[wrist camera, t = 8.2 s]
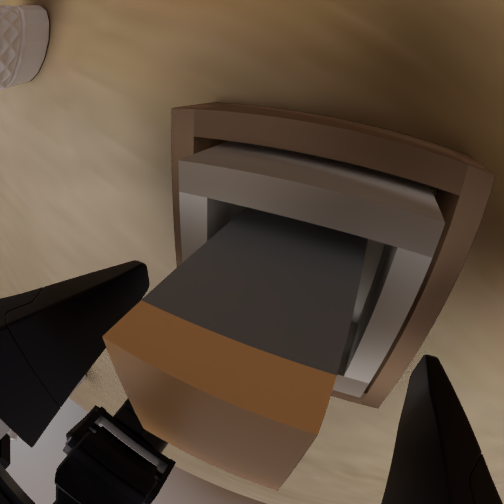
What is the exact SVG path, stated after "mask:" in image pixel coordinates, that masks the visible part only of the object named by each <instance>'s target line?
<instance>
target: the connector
mask: <svg viewBox="0 0 504 504" xmlns="http://www.w3.org/2000/svg"><path fill="white" fill-rule="evenodd" d="M367 241H368V239H367V238H364V237H360V236H357V235H353V234H349V233H346V232H342V231H339V230H335V229H331V228H327V227H324V226H320V225H316V224H312V223H309V222H305V221H301V220H297V219H293V218H289V217H285V216H281V215H277V214H273V213H269V212H265V211H261V210H257V209H253V208H249V207H247V208H245V209H244V210H243V211H242V212H241V213H239V214H238V215H237V216H236V217H235V218H234V219H232V220H231V221H230V222H229V223H228V224H227V225H225V226H224V227H223V228H222V229H221V230H220V231H218V232H217V233H216V234H215V235H214V236H213V237H211V238H210V239H209V240H208V241H207V242H206V243H205V244H203V245H202V246H201V247H200V248H199V249H198V250H197V251H195V252H194V253H193V254H192V255H191V256H190V257H189V258H188V259H186V260H185V261H184V262H183V263H182V264H181V265H180V266H178V267H177V268H176V269H175V270H174V271H173V272H172V273H171V274H170V275H168V276H167V277H166V278H165V279H164V280H163V281H162V282H161V283H160V284H158V285H157V286H156V287H155V288H154V289H153V290H152V291H151V292H150V293H149V294H147V295H146V296H145V297H144V298H143V299H142V300H141V301H140V302H139V303H138V304H137V305H135V306H134V307H133V308H132V309H131V310H130V311H129V312H128V313H127V314H126V315H125V316H124V317H123V318H122V319H120V320H119V321H118V322H117V323H116V324H115V325H114V326H113V327H112V328H111V329H110V330H109V331H108V332H107V333H106V334H105V335H103V336H102V337H103V340H104V342H105V345H106V348H107V350H108V353H109V355H110V358H111V360H112V362H113V365H114V367H115V370H116V372H117V374H118V377H119V379H120V381H121V383H122V386H123V388H124V390H125V392H126V394H127V396H128V398H129V401H130V403H131V405H132V407H133V409H134V411H135V413H136V415H137V417H138V419H139V421H140V423H141V425H142V426H143V428H144V429H145V430H147V431H149V432H150V433H152V434H154V435H155V436H157V437H159V438H161V439H162V440H164V441H166V442H168V443H170V444H171V445H173V446H175V447H177V448H179V449H181V450H183V451H185V452H187V453H189V454H191V455H192V456H195V457H197V458H199V459H201V460H203V461H205V462H207V463H209V464H211V465H213V466H216V467H218V468H220V469H222V470H225V471H227V472H229V473H232V474H234V475H237V476H239V477H242V478H244V479H247V480H249V481H252V482H254V483H257V484H260V485H263V486H265V487H268V488H271V489H274V490H277V491H278V490H279V488H280V487H281V486H282V485H283V483H284V482H285V481H286V479H287V478H288V477H289V475H290V474H291V473H292V471H293V470H294V468H295V467H296V466H297V464H298V463H299V461H300V460H301V459H302V457H303V456H304V454H305V453H306V451H307V450H308V449H309V447H310V446H311V444H312V443H313V441H314V440H315V438H316V437H317V435H318V432H319V430H320V427H321V424H322V421H323V418H324V415H325V412H326V409H327V406H328V403H329V400H330V397H331V393H332V390H333V387H334V383H335V380H336V377H337V373H338V370H339V366H340V363H341V359H342V356H343V352H344V348H345V344H346V340H347V337H348V333H349V329H350V324H351V320H352V316H353V312H354V307H355V303H356V298H357V294H358V289H359V284H360V279H361V274H362V269H363V264H364V258H365V253H366V247H367Z"/></svg>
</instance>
